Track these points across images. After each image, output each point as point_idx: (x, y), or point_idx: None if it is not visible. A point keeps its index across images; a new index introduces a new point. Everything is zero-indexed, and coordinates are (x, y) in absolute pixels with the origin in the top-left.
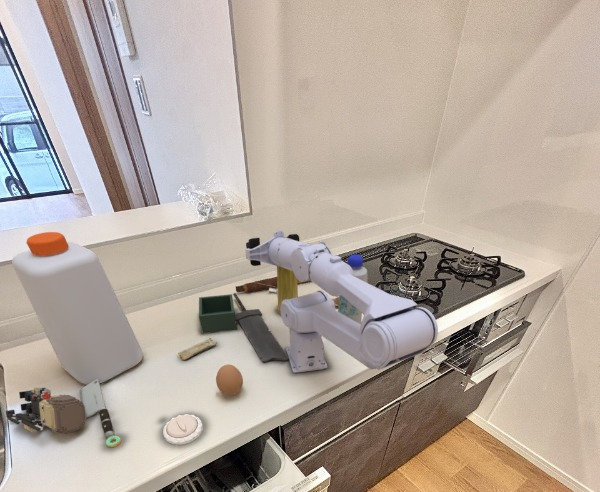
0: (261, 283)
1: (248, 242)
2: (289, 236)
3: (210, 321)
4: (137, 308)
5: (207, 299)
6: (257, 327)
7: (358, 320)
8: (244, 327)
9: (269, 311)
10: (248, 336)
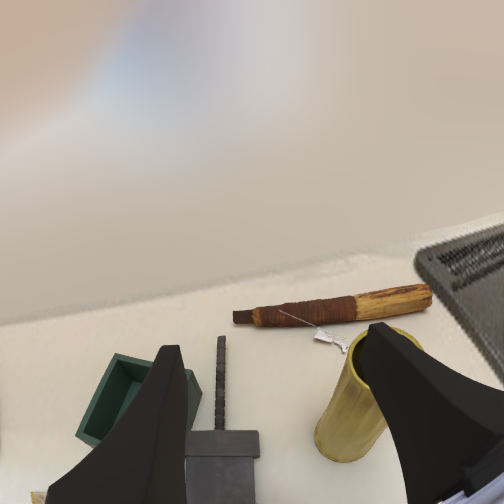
0: (300, 313)
1: (130, 402)
2: (488, 440)
3: None
4: (57, 310)
5: (130, 365)
6: None
7: None
8: (189, 495)
9: (292, 427)
10: None
